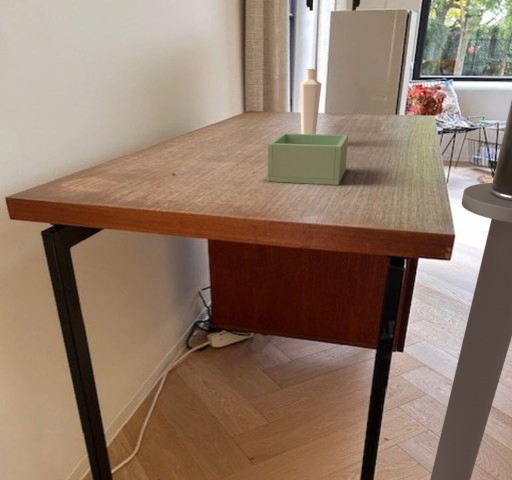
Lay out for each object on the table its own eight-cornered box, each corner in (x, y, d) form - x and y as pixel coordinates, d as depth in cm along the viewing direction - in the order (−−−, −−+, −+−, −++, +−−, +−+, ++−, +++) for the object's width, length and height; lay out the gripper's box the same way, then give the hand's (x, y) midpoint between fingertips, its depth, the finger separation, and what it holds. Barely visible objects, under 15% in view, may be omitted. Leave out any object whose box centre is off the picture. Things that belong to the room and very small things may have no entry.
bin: (345, 170, 89) (348, 135, 86) (338, 185, 79) (341, 146, 76) (281, 167, 92) (282, 133, 89) (267, 181, 82) (267, 143, 79)
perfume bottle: (318, 143, 114) (322, 68, 107) (317, 146, 110) (321, 69, 103) (298, 143, 115) (301, 68, 107) (297, 146, 111) (299, 69, 103)
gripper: (300, -99, 90) (296, 9, 98) (380, -101, 89) (370, 9, 97) (300, -89, 96) (297, 12, 104) (375, -91, 95) (366, 11, 103)
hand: (332, 10), depth 101 cm, fingers open, 8 cm apart
